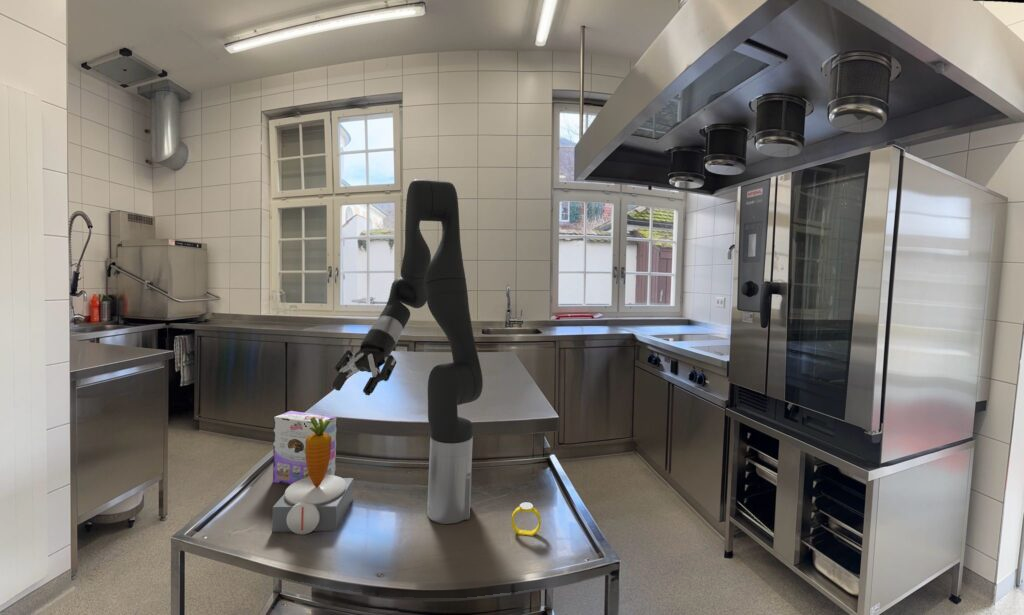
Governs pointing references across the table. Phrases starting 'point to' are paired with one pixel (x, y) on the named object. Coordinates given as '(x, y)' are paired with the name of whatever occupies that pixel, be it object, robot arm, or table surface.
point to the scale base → (311, 513)
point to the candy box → (297, 445)
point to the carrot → (318, 451)
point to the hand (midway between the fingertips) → (350, 391)
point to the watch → (526, 508)
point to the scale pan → (315, 490)
